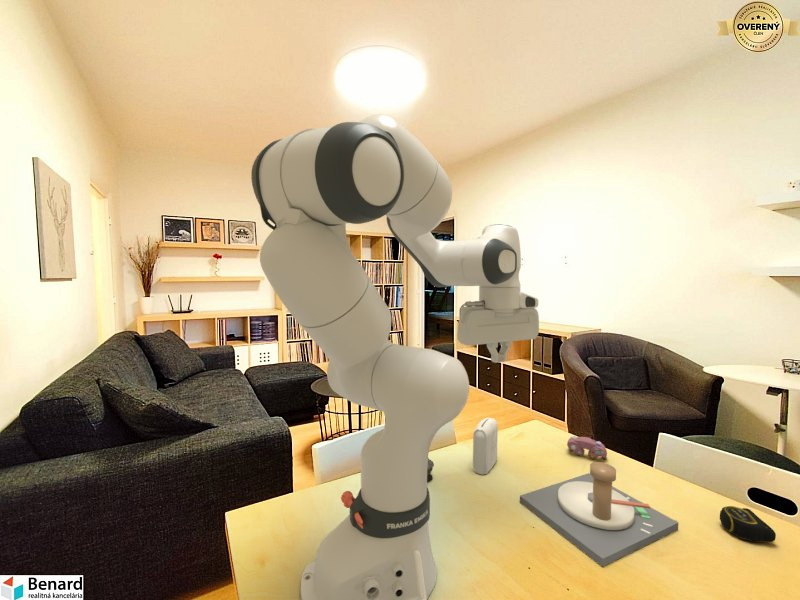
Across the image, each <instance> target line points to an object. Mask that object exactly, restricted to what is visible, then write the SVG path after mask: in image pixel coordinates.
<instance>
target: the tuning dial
mask: <svg viewBox="0 0 800 600" xmlns="http://www.w3.org/2000/svg"><path fill="white" fill-rule="evenodd" d="M589 474H591V476H592V477H593V483H591V482H583V481H574V482H568V483H565V484H563V485H562V486H561V487H560V488H559V490H558V502H559V505H560V506H561V508H562V509H563V510H564V511H565V512H566V513H567V514H568V515H570V516H571V517H573V518H574V519H576V520H578V521H580V522H582V523H584V524H586V525H589V526H592V527H596V528H600V529H606V530H621V529H625V528H628V527H630V526H631V525H632V524H633V522H634V507H642V508H649V509H650V507H651V506H650V505H649V503H643V502H642V503H637V502H630V501H629V500H628V499H626V498H625V497H624V496H623V495H621V494H620V493H618V492H616V491H614V490H612V486H613V483H614V482H615V481H617V469H616V467H614V466H613V465H611V464H608V463H606V462H601V461H594V462H591V463H590V465H589ZM633 506H634V507H633Z"/></svg>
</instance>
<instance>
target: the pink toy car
mask: <svg viewBox="0 0 800 600" xmlns="http://www.w3.org/2000/svg"><path fill="white" fill-rule="evenodd" d="M566 445H567V447H568V450H569V451H573V452H574V453H575V455H578V456H580V457H582V456H583V457H584V455H585V452H586V450H587V451H588V452H587V457H588V458H590V459H593V460H596V459H597V458H599V457H600V458H602V459H606V458H607V456H608V452H607V448H606V446H605V444H603V443H602V442H601V441H600V440H599V441H597V440H595V439H592V438H591V437H587V436H586V437H585V436H575V435H573V436H571V437H569V438H568V440H567V443H566Z"/></svg>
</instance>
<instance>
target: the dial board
mask: <svg viewBox="0 0 800 600" xmlns="http://www.w3.org/2000/svg"><path fill="white" fill-rule="evenodd" d="M574 481H583V482H591V483H593V477H592V476H591V474H590V472H589V473H584V474H581V475H578V476H575V477H573V478H570V479H569V478H568V479H567V480H564V481H561V482H557V483H554V484H552V485H548V486H545V487H542V488H539V489H536V490H534V491H529V492H527V493H523V494H521V495H519V503H520V504H522V505H523V506H524V507H525V508H527V510H529V511H530V512H531V513H533V514H534V515H536V516H537V517H538V518H539V519H541V520H542V521H543V522H544V523H546V524H547V525H548V526H549V527H551V528H552V529H553V530H555V531H556V532H557V533H558V534H560V535H561V536H562V537H564V538H565V539H566V540H567V541H568V542H570V543H571V544H573V545H574V546H575V547H577V549H579V551H581V552H583V553H584V554H585V555H587V556H588V557H589V558H590V559H592V560H593V561H594V562H595V563H597V564H598V565H599V566H600V567H602V568H603V567H606V566H608V565H610V564H612V563H614V562H617V561H618V560H620V559H622V558H624V557H626V556H628V555H630V554H632V553H634V552H637V551H638V550H640V549H643V548H644V547H647V546H648V545H650V544H652V543H655V542H657V541H658V540H660V539H662V538H665V537H667V536H669V535H671V534H673V533H675V532H677V531H679V522H678V521H677V520H674V519H673V518H671V517H670V516H668V515H666V514H664V513H662V512H660V511H658V510H657V509H656V508H655V509H654V508H652V507H651V506H650V509H649V508H642V507H634V506H633V507H634V522H633V524H632V525H631V526H630V527H628V528H625V529H621V530H606V529H600V528H596V527H592V526H589V525H586V524H584V523H582V522H580V521H578V520H576V519H574V518H573V517H571V516H570V515H568V514H567V513H566V512H565V511H564V510H563V509H562V508H561V506H560V505H559V502H558V490H559V488H560V487H561V486H562V485H563V484H565V483H568V482H574ZM612 490H614V491H616V492H618V493H620V494H621V495H623V496H624V497H625V498H626V499H628V500H629V501H630V502H637V503H643V502H641V501H640V500H638V499H636V498H635V497H633V496H631V495H629V494H627V493H626V492H624V491H622V490H620V489H618V488H616V487H614V486H613V485H612Z"/></svg>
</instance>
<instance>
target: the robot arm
mask: <svg viewBox="0 0 800 600" xmlns="http://www.w3.org/2000/svg"><path fill="white" fill-rule="evenodd" d="M250 176H251V177H250V178H251V184H252V190H253V193H254V195H255V198H256V200H257V203H258V205H259V209H260V214H261V219H262V220H263V222H264V223H265V225H267V226H268V228H270V229H272V231H271V232H270V233H269V235H268V236H267V237H266V239H264V242H263V244H262V246H261V247H260V253H259V263H260V267H261V270H262V271H263V273H264V275H265V277H266V279H267V280H268V282H269V284H270V286H271V287H272V289H273V291H274V292H275V294H276V295H277V297H278V298H279V299H280V301H281V302H282V304H283V305H284V307H285V308H286V309H287V311H288V312H289V314H290V315H291V316H292V317H293V318H294V319H295V321H296V322H297V323H298V324H299V325H300V326H301V328H303V330H304V331H305V332H306V334H307V335H308V336H309V337H310V338H311V340H313V341H314V343H315V344H316V345H317V346H318V347H319V348H320V349H321V351H322V352H323V353H324V354H325V356H326V357H327V359H328V364H327V367H326V368H327V369H326V370H327V371H326V375H327V377H326V378H327V382H328V385H329V386H330V387H329V388H330V389H331V390H332V391H333V392H334V393H336V394H337V395H338V396H340V397H342V398H343V399H346V400H347V401H348V402H350V403H353V404H355V405H359V406H363V407H366V408H370V409H374V410H377V411H379V412H380V411H381V412H383V414H384V417H385V418H384V421H385V422H384V427H383V429H381V430H378V431H376V432H374V433H372V434H371V435H369V437H368V438H367V439H366V441H365V442H364V444H363V445H362V448H361V450H360V489H359V492H358V494H357V496H356V497H355V496H354V494H353V492H351V490H345V491H344V492H342V494H341V497H340V500H341V502H342V503H343V506H344V507H345V508H346V509H349V515H347V517H345V518H344V519H343V520H342V521H341V522H340V523H338V524H337V526H336V527H335V528H333V529H332V530H331V531H330V532H329V533H328V534H326V535H325V536H324V538H322V540H320V543H319V545H318V548H317V551H316V556H315V560H314V561H311V562H309V563H308V564H307V565H306V566H305V567H304V570H303V572H302V575H301V580H300V600H428V598H429V596H430V594H431V593H432V591H433V589H434V588H435V585H436V583H437V579H438V571H437V570H438V569H437V566H436V562H435V558H434V555H433V551H432V547H431V539H430V532H429V531H430V530H429V520H430V515H431V509H430V508H431V502H430V490H429V488H428V483H427V468H428V458H429V455H430V453H429V452H430V447H431V444H432V442H433V439H434V437H435V436H436V434H437V433H438V431H439V430H440V429H442V427H443V426H445V425H446V424H448V423H450V422H452V421H453V420H455V419H457V417H458V416H459V415H460V414H461V412H462V411H463V410H464V408H465V406H466V404H467V402H468V399H469V394H470V380H469V376H468V373H467V371H466V368H465V366H464V365H463V363H462V362H461V361H460V360H459V359H458V358H456V357H453V356H451V355H448V354H445V353H443V352H441V351H438V350H435V349H431V348H422V347H417V346H416V347H415V346H409V345H401V344H398V343H397V344H396V343H394V342H391V341H390V340H388V337H389V336H390V332H391V329H392V328H391V327H392V314H391V310H390V308H389V307H388V305H387V303H386V302H385V300H384V299H383V297H382V295H381V294H380V292H379V291H378V289H377V288H376V286H375V285H374V283H373V281H372V280H371V278H370V277H369V275H368V274H367V272H366V271H365V268H364V267H363V266H362V265H361V263H360V262H359V260H358V259H357V258H356V256H355V255H354V253H352V249H351V247H350V245H349V241H348V237H347V228H346V226H347V225H346V224H352V225H353V224H354V225H361V224H366V223H370V222H372V221H376V220H378V219H380V218H383V217H385V216H386V223H387V227H388V229H389V231H390V233H391V234H392V236H393V237H394V238H395V239H396V240H397V242H398V243H399V244H400V245H401V246H402V248H404V250H405V251H406V252H407V253H408V254H409V255H410V256H411V257H412V258H413V260H414V261H415V262H416V263H417V264H418V266H419V267H420V268H421V271H422V273H423V275H424V276H425V278H426V279H427V281H428V282H429V283H430V284H431V285H432V286H434V287H436V288H447V287H478V300H475V301H471V300H469V301H465V302H464V303H463V304H462V305H461V306H460V307H459V310H458V311H459V312H458V313H459V316H458V324H457V325H458V326H457V334H456V335H457V338H456V339H457V341H458V342H459V343H460V344H462V345H464V346H476V345H477V346H478V345H486V348H487V349H488V351H489V353H490V355H491V356H490V361H491V362H492V363H494V364H497V363H504V362H507V359H508V357H507V356H508V355H507V354H508V352H509V351H510V349H511V347H512V342H516V341H517V342H518V341H529V340H535V339H536V338H537V337H538V336H539V331H540V319H539V318H540V316H539V315H540V314H539V311H538V309H536V308H538V307H539V299H538V298H537V297H535V296H532V295H529V294H527V293H525V292H522V291H521V283H520V282H521V281H520V278H519V277H520V270H521V267H522V264H521V261H522V257H521V253H522V252H521V244H520V243H521V242H520V236H519V231H518V230H517V228H516V227H514V226H511V225H509V224H499V223H498V224H490V225H487V226H485V227H484V228H483V229H482V232H481V235H480V236H478V237H476V238H472V239H461V240H459V239H458V240H440V239H437V238H435V236H434V235H433V234H432V231H433V230H435V228H437V227H438V226H439V225H440V224H441V223H442V221H444V219H445V218H446V216H447V215H448V212H449V210H450V207H451V204H452V200H453V187H452V184H451V180H450V178H449V176H448V174H447V172H446V171H445V169H444V168H443V167H442V166H441V165H440V163H439V162H438V160H437V159H436V158H435V157H434V156H433V154H432V153H431V152H430V150H428V149H427V147H426V146H425V145H424V144H423V143H422V142H421V141H420V140H419V139H418V138H417V137H416V136H415V135H414V134H412V132H410V131H409V130H408V129H407V128H406V127H404V126H403V125H402V124H401V123H400V122H398V121H397V120H396V119H394V118H393V117H391V116H389V115H386V114H372V115H369V116H366V117H365V118H363V119H362V120H360V121H359V122H358V121H344V122H339V123H337V124H335V125H333V126H324V127H319V128H307V129H303V130H300V131H297V132H294V133H292V134H290V135H288V136H285V137H284V138H279V139H276V140H274V141H272V142H270V143H269V144H268V145H266V146H265V147H264V148H263V149H262V150H260V152H259V153H258V155H257V156H256V157H255V158H254V161H253V164H252V167H251V175H250ZM269 221H270V222H271V223H272V224H271V223H270V222H269ZM499 346H500V349H499V351H498V350H497V348H498V347H499Z"/></svg>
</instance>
